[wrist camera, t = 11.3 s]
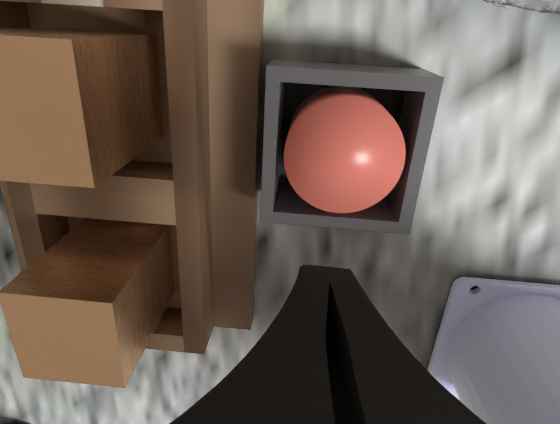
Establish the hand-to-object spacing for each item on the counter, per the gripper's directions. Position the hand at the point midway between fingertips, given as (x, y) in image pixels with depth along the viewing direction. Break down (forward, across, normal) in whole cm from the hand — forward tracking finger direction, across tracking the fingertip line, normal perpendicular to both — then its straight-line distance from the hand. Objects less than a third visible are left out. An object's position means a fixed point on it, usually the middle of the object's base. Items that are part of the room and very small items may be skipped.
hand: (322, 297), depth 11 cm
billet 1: (+8, +9, -4) cm, 12 cm away
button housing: (+9, -1, -2) cm, 9 cm away
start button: (+8, -1, -2) cm, 9 cm away
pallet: (+9, +9, 0) cm, 12 cm away
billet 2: (+8, +9, +4) cm, 12 cm away
